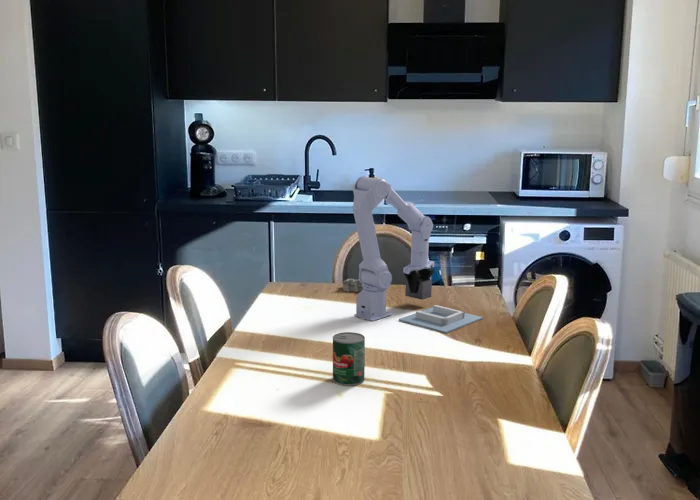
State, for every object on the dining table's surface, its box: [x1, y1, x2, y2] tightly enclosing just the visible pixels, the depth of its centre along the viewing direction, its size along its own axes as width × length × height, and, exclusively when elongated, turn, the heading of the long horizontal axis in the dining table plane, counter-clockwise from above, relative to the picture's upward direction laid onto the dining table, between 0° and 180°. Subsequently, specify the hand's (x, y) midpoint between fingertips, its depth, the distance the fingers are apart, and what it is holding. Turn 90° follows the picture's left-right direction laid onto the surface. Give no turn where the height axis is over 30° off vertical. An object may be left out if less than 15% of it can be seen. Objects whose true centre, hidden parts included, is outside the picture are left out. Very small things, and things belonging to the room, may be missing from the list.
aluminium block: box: [404, 277, 433, 301], centre depth 241 cm, size 5×7×6 cm
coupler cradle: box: [398, 304, 484, 334], centre depth 226 cm, size 20×18×2 cm
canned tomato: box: [332, 331, 366, 387], centre depth 177 cm, size 8×8×11 cm
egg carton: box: [342, 278, 364, 293], centre depth 261 cm, size 11×8×4 cm
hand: (418, 291), depth 241 cm, fingers closed on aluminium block, 5 cm apart
